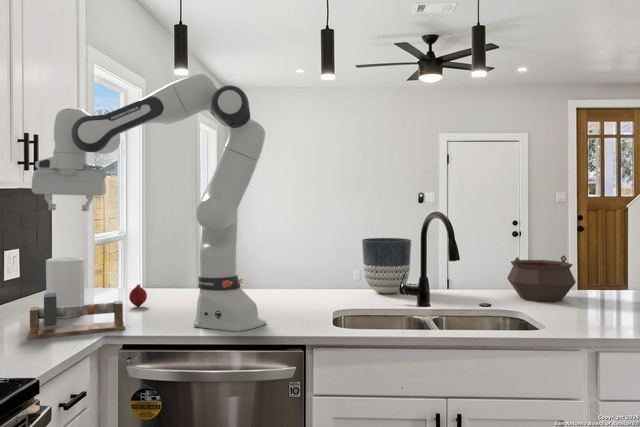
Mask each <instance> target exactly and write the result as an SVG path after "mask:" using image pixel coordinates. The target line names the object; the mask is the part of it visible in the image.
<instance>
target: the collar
mask: <svg viewBox="0 0 640 427" xmlns="http://www.w3.org/2000/svg"><path fill="white" fill-rule="evenodd" d="M56 307H57V299H56V293H47V294H46V293H44V295H43V308H44V319H43V325H44V326H43V328H49V327H57V322H58V321H57V320H58V319H57V318H56Z"/></svg>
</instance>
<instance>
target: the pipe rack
mask: <svg viewBox="0 0 640 427" xmlns="http://www.w3.org/2000/svg"><path fill="white" fill-rule="evenodd" d="M123 306H124V304H123V301H122V300H114V301H113V302H105V303H104V302H103V303H89V304H84V305H74V306H61V307H56V318H58V317H70V316H77V317H81V316H92V315H104V314H113V315H114V318H113V320H114V321H108V322H107V321H106V322H91V323H85V324H74V325H62V326H49V327H40V320H44V307H39V306H31V307H30V308H29V330H28V333H27V340H33V339H34V340H35V339H43V338H54V337H64V336H65V337H66V336H74V335H75V336H78V335H86V334H96V333H97V334H98V333H107V332H108V333H109V332H118V331H125V330H126V325H125V322H124V317H123V316H124V314H123V313H124V311H123V310H124V309H123Z"/></svg>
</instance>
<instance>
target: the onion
mask: <svg viewBox="0 0 640 427" xmlns="http://www.w3.org/2000/svg"><path fill="white" fill-rule="evenodd" d="M147 298H148V294H147V291H146V290H145V289H144V288H143V287H141V284H140V283H138V284H136V286H135V287H134V288H133V289H132V290H131V291H130V293H129V299H128V300H129V301H130V303H131V304H132V305H134V306H135V307H137V308H139V307H141V306H142V305H143V304H145V302H146V300H147Z"/></svg>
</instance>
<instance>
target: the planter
mask: <svg viewBox="0 0 640 427" xmlns="http://www.w3.org/2000/svg"><path fill="white" fill-rule="evenodd" d="M361 243H362V260H363V261H362V262H363V273H364V277H365V281H366V283H367V284H368V286H369V287H370V288H371V289H372V290H373V291H374V292H376V293H380V294H384V295H385V294H386V295H387V294H388V295H389V294H395V293H397V292H399V291H400V290H399V287H400V284H401V281H402V278H403V275H404V274H405V277H404V279H403V282H402V284H403V285H404V284H405V285H406V284H407V283H408V281H409V276H410V270H411V251H412V240H411V239H410V238H400V237H398V238H397V237H396V238H395V237H373V238H372V237H370V238H369V237H368V238H363V239H362V241H361ZM405 272H406V273H405Z"/></svg>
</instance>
